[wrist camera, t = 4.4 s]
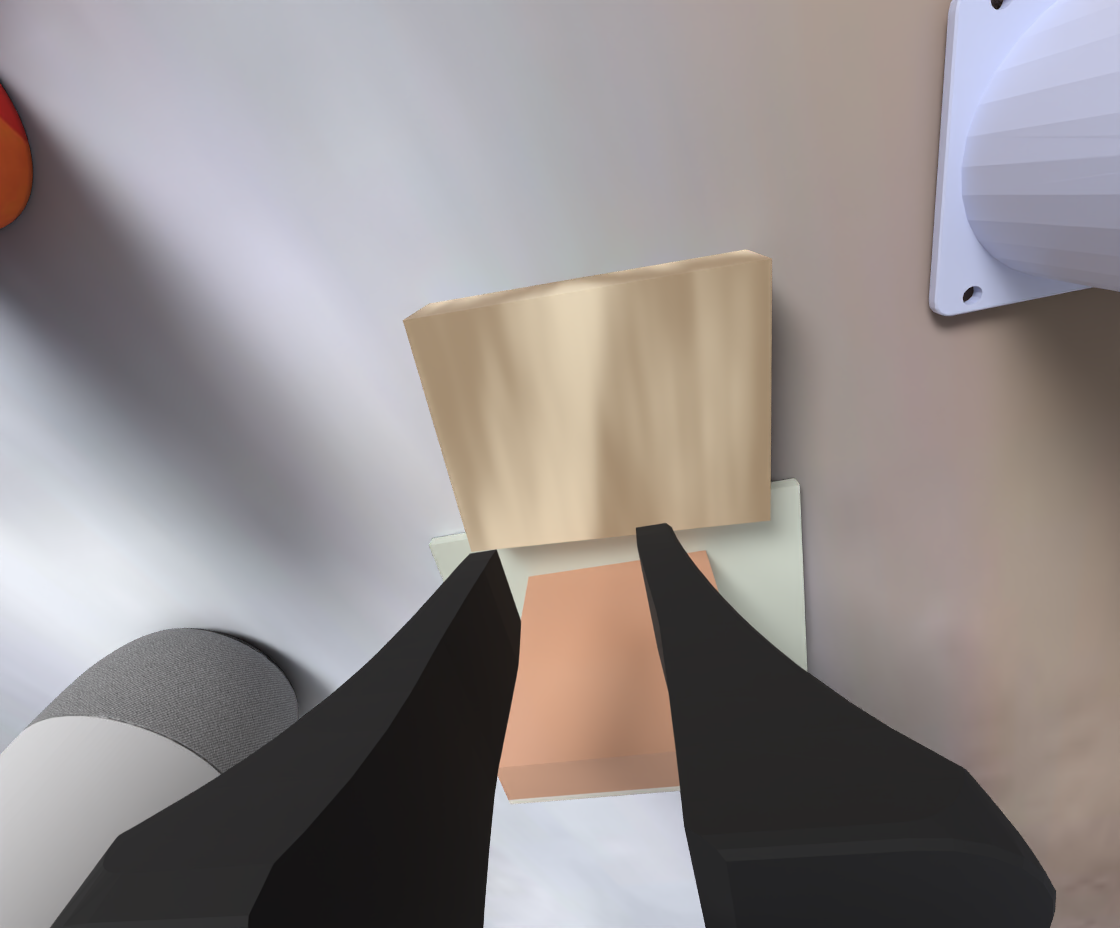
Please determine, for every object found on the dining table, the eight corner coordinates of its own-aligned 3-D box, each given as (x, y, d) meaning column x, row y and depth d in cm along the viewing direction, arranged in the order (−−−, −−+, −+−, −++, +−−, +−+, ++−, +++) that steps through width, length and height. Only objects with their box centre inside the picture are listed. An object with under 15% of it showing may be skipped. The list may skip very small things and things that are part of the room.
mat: (794, 478, 19) (799, 484, 19) (805, 719, 25) (809, 729, 24) (432, 538, 21) (428, 545, 21) (516, 748, 27) (515, 757, 26)
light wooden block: (432, 301, 18) (743, 248, 16) (487, 506, 21) (747, 476, 20) (402, 320, 15) (771, 258, 14) (471, 551, 18) (770, 520, 17)
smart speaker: (341, 742, 28) (130, 1193, 15) (178, 743, 28) (-149, 1169, 16) (281, 600, 23) (-80, 1061, 11) (91, 607, 24) (-441, 1040, 12)
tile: (705, 550, 20) (765, 743, 13) (710, 583, 21) (769, 783, 14) (528, 576, 21) (494, 768, 14) (538, 607, 22) (510, 804, 15)
